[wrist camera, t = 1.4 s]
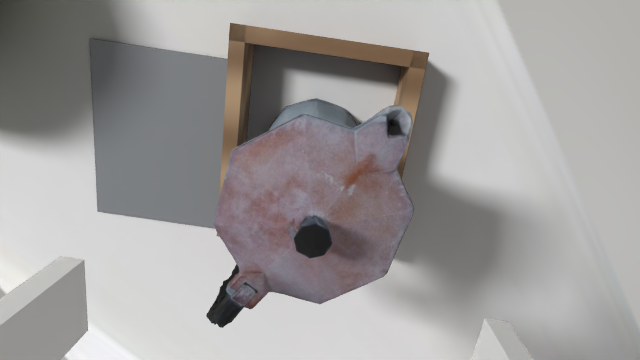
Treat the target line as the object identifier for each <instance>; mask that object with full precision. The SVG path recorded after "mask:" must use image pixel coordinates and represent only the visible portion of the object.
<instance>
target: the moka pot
mask: <svg viewBox="0 0 640 360" xmlns="http://www.w3.org/2000/svg"><path fill="white" fill-rule="evenodd" d="M412 127H413V121H412V115H411V114H410V112H408V111H407V110H406V109H404V108H403V107H402V106H399V105H395V106H389V107H387V108H385V109H383V110H382V111H380V112H379V113H377V114H376V115H375V116H373V117H372V118H370V119H369V120H367V121H365V122H364V123H362V124H360V125H358V126H357V125H356V123H355V122H354V120H353V119H352V117H351V116H350V115H349V113H348V112H347V110H345V109H344V108H342V107H340V106H337V105H335V104H332V103H329V102H326V101H323V100H319V99H311V100H307V101H303V102H299V103H296V104H293V105H289V106H287V107H285V108H284V109H283V110H282V112H281V113H280V114H279V116H278V117H277V118H276V120H275V121H274V122H273V124H272V125H271V126H270V128H269V129H268V131H267V132H265V133H263V134H261V135H259V136H257V137H255V138H254V139H252V140H250V141H248V142H246V143H244V144H242V145H240V146H238V147H236V148H234V149H233V150H232V151H231V154H230V158H229V162H228V166H227V170H226V174H225V178H224V182H223V186H222V190H221V193H220V197H219V201H218V204H217V207H216V211H215V214H214V218H213V224H214V226H215V228H216V231H217V233H218V235H219V236H220V237H221V239H222V240H223V242H224V243H225V245H226V247H227V249H228V250H229V252H230V253H231V255H232V256H233V258H234V260H235V262H236V263H237V265H236V266H235V268H234V270H233V271H232V275H231V276H230V277H229V279H227V280H225V281H223V285H222V286H221V287H220V292H219V295H218V296H217V298H216V301H215V302H214V304H213V305H212V307H211V308H210V310H209V312H208V313H207V318H208V319H209V320H210V321H211V323H214V325H215V324H216V323H217V324H218V326H219V327H224V326H225V325H226V324H228V323H230V322H232V321H233V319H234V318H235V317H236V316H237V315H238V314H239V312H240V311H241V310H242V309H243V308H244V307H246V308H249V309H252V308H254V307H255V306H256V305H257V303H258V302H259V301H260V300H261V299H262V298H263V297H264V296H265V295H266V294H267V293H268V292H276V293H281V294H285V295H288V296H292V297H295V298H299V299H302V300H306V301H310V302H314V303H318V304H321V303H324V302H326V301H328V300H331V299H334V298H336V297H338V296H340V295H342V294H345V293H347V292H350V291H352V290H354V289H357V288H359V287H361V286H364V285H366V284H368V283H370V282H372V281H374V280H377V279H379V278H381V277H383V276H384V275H385V274H387V272H388V270H389V267H390V265H391V263H392V260H393V258H394V256H395V253H396V251H397V248H398V246H399V244H400V242H401V239H402V237H403V235H404V233H405V230H406V228H407V226H408V224H409V222H410V220H411V218H412V215H413V211H414V207H413V204H412V201H411V199H410V197H409V195H408V193H407V191H406V189H405V187H404V185H403V183H402V181H401V178H400V175H399V173H398V170H397V169H398V166H399V164H400V161H401V158H402V156H403V154H404V152H405V150H406V148H407V145H408V142H409V137H410V135H411V131H412Z"/></svg>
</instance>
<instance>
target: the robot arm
mask: <svg viewBox="0 0 640 360" xmlns="http://www.w3.org/2000/svg"><path fill="white" fill-rule="evenodd" d="M87 331H88V321H87V302H86V284H85V266H84V260H82V259H75V258H68V257H61V256H60V257H59V258H58V259H56V260H55V261H53V262H52V263H51V264H49V265H48V266H46V267H45V268H43V269H42V270H41V271H39V272H38V273H36V274H35V275H33V276H32V277H31V278H29V279H28V280H26V281H25V282H23V283H22V284H21V285H19V286H18V287H16V288H15V289H14V290H12V291H11V292H9V293H8V294H6V295H5V296H4V297H2V298H1V299H0V360H61V359H62V358H63V357H64V355H65V354H66V353H67V352H68V351H69V350H70V349H71V348H72V347H73V346H74V345H75V344H76V343H77V341H78V340H79V339H80V338H81V337H82V336H83V335H84V334H85V333H86V332H87ZM471 360H534V359H533V358H532V356H531V355H530V353H529V352H528V350H527V349H526V347H525V346H524V344H523V343H522V341H521V340H520V338H519V337H518V335H517V334H516V332H515V331H514V329H513V328H512V326H511V325H510V323H509V322H508V321H502V320H495V319H488V318H485V319H484V322H483V325H482V328H481V332H480V335H479V338H478V341H477V344H476V347H475V350H474V353H473V356H472V359H471Z"/></svg>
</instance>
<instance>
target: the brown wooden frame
mask: <svg viewBox="0 0 640 360" xmlns="http://www.w3.org/2000/svg"><path fill="white" fill-rule="evenodd" d="M254 44H256V45H262V46H269V47H276V48H282V49H289V50H296V51H302V52H309V53H316V54H322V55H329V56H336V57H343V58H349V59H356V60H363V61H369V62H376V63H383V64H389V65H396V66H402V68H401V73H400V78H399V83H398V88H397V93H396V98H395V103H394V106H395V105H399V106H402V107H403V108H404V109H406V110H407V111H408V112H410V114H411V115H412V121H413V124H414V120H415V115H416V111H417V106H418V102H419V97H420V92H421V88H422V83H423V79H424V74H425V70H426V65H427V61H428V56H429V53H427V52H420V51H414V50H407V49H400V48H394V47H387V46H380V45H374V44H367V43H360V42H354V41H347V40H340V39H334V38H327V37H320V36H314V35H307V34H300V33H294V32H287V31H280V30H274V29H267V28H260V27H254V26H247V25H240V24H234V23H230V32H229V48H228V64H227V81H226V97H225V113H224V129H223V145H222V161H221V177H220V193H221V190H222V186H223V182H224V178H225V174H226V170H227V166H228V162H229V158H230V154H231V151H232V150H233V149H234V148H236V147H238V146H240V145H242V144H244V143H246V139H247V127H248V115H249V102H250V90H251V78H252V66H253V54H254ZM412 129H413V127H412ZM411 133H412V131H411ZM410 138H411V135H410V137H409V142H410ZM409 142H408V145H407V148H406V150H405V152H404V154H403V156H402V158H401V161H400V164H399V166H398V169H397V170H398V173H399V175H400V178H401V179H402V174H403V170H404V165H405V160H406V156H407V151H408V147H409ZM220 193H219V197H220ZM217 236H219V235H218V233H217ZM219 237H220V236H219Z"/></svg>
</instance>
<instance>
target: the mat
mask: <svg viewBox="0 0 640 360" xmlns="http://www.w3.org/2000/svg"><path fill="white" fill-rule="evenodd" d="M90 59H91V81H92V102H93V124H94V145H95V167H96V188H97V210H98V212H104V213H111V214H118V215H125V216H132V217H139V218H146V219H153V220H160V221H167V222H173V223H180V224H187V225H194V226H201V227H208V228H215V226H214V224H213V218H214V214H215V211H216V207H217V204H218V201H219V193H220V177H221V161H222V145H223V129H224V113H225V97H226V81H227V64H228V59H224V58H217V57H211V56H204V55H197V54H191V53H184V52H177V51H170V50H164V49H157V48H150V47H144V46H137V45H130V44H124V43H117V42H110V41H103V40H97V39H90ZM215 229H216V228H215Z"/></svg>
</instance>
